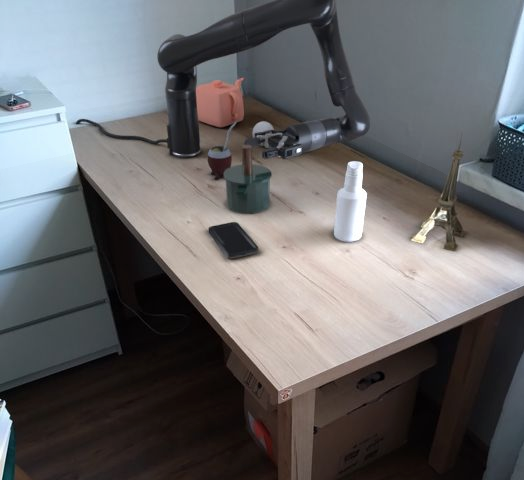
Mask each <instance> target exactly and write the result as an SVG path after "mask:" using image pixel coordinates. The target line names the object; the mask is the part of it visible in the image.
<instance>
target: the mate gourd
mask: <svg viewBox="0 0 524 480" xmlns="http://www.w3.org/2000/svg"><path fill="white" fill-rule="evenodd" d="M237 123H238V122H237V121H236V122H235V123H234V124H231V125H230V127H229V129H228V130H227V133H226V138H225V142H224V145H217V146H216V145H215V146H212V147H211V148H210V149H209V150H208V152H207V165H208V166H209V168H210V170H211V172H210V174H211V175H212V176H215V177H214V180H216V181H218V180H219V179H220V178H224V175H223V174H224V171H225V170H226V169H228V168H230V167H232V162H233V157H232V156H233V155H232V152H231V151H230V149H229V148H228V147H227V145H228V141H229V137H230V135H231V133H232V132H231V131H232V129H233V128H234V127H235V126H236V124H237Z"/></svg>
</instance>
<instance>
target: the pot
mask: <svg viewBox="0 0 524 480" xmlns="http://www.w3.org/2000/svg"><path fill="white" fill-rule="evenodd" d="M225 193H226V205H227V208H228V209H229V210H231V211H232V212H235V213H238V214H245V215H250V214H257V213H262V212H264V211H265V210H267V209H268V208H269V206H270V202H271V199H270V198H271V179H270V180H268V181H267V182H265V183H262V184H258V185H251V186H243V185H236V184H232V183H230V182H228V181H226V180H225Z"/></svg>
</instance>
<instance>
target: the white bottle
mask: <svg viewBox="0 0 524 480" xmlns="http://www.w3.org/2000/svg"><path fill="white" fill-rule="evenodd" d="M363 167H364V165H363V163H362V161H357V160H351V161H349V162H348V163H347V168H346V171H345V176H344V177H345V178H344V183H343V187H341V188H339V190H338V191H337V195H336V205H335V217H334V227H333V228H334V229H333V235H334V237H335V238H336V239H337V240H339V241H342V242H348V243H350V242H356V241H358V240H360V239H361V238H362V235H363V228H364V220H365V219H364V218H365V211H366V204H367V195H368V193H367V192H366V190H365V189H363V188H362V187H363V186H362V185H363V175H364V172H363Z"/></svg>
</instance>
